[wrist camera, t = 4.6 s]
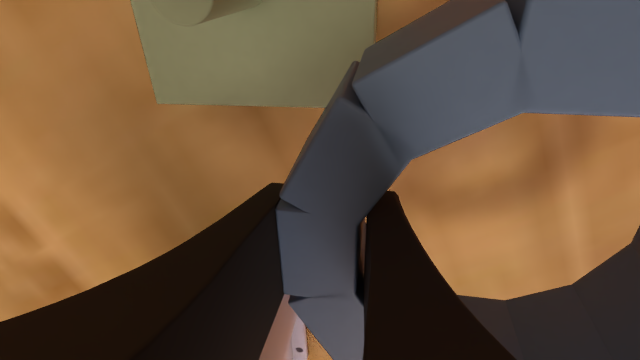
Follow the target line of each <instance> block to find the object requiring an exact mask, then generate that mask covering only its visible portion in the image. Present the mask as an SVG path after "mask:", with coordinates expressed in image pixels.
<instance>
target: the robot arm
mask: <svg viewBox="0 0 640 360" xmlns="http://www.w3.org/2000/svg"><path fill="white" fill-rule="evenodd" d="M283 185H284V184H282V183H271V184H269V185H267V186H266V187H264V188H263V189H262V190H260V191H259V192H257V193H256V194H255V195H253V196H252V197H251V198H249V199H248V200H247V201H245V202H244V203H242V204H241V205H240V206H238V207H237V208H235V209H234V210H233V211H231V212H230V213H228V214H227V215H226V216H224V217H223V218H221V219H220V220H219V221H217V222H215V223H214V224H212V225H211V226H209V227H208V228H206V229H205V230H203V231H201V232H200V233H198V234H197V235H195V236H194V237H192V238H191V239H189V240H187V241H186V242H184V243H182V244H181V245H179V246H177V247H176V248H174V249H172V250H170V251H168V252H167V253H165V254H163V255H161V256H159V257H157V258H155V259H153V260H152V261H150V262H148V263H146V264H144V265H142V266H140V267H138V268H136V269H134V270H131V271H129V272H127V273H125V274H122V275H120V276H118V277H116V278H114V279H111V280H109V281H107V282H105V283H102V284H100V285H98V286H96V287H94V288H91V289H89V290H87V291H84V292H82V293H79V294H77V295H74V296H71V297H69V298H66V299H64V300H61V301H59V302H56V303H53V304H51V305H48V306H45V307H42V308H40V309H37V310H34V311H31V312H29V313H26V314H23V315H20V316H17V317H14V318H11V319H8V320H5V321H2V322H0V360H307V358H308V348H307V336H306V325H305V324H304V323H303V322H302V320H301V319H300V318H299V317H298V315H297V314H296V313H295V312H294V310H293V309H292V308H291V307H290V305H289V304H288V300H289V297H290V295H286V294H284V292H283V283H282V273H281V263H280V252H279V242H278V232H277V222H276V212H275V209H276V207H277V205H278V203H279V201H280V199H281V198H280V197H279V194H280V191H281V189H282V187H283ZM363 360H517V359H516V358H515V357H514V356H513V355H512V354H511V353H510V352H509V351H508V350H507V349H506V348H505V347H504V346H503V345H502V344H501V343H500V342H499V341H498V340H497V339H496V338H495V337H494V336H493V335H492V334H491V333H490V332H489V331H488V330H487V329H486V328H485V327H484V326H483V325H482V324H481V323H480V321H479V320H478V319H477V318H476V317H475V316H474V315H473V313H472V312H471V311H470V310H469V309H468V308H467V307H466V306H465V304H464V303H463V302H462V301H461V299H460V298H459V297H458V296H457V295H456V293H455V292H454V291H453V290H452V288H451V287H450V286H449V284H448V283H447V282H446V280H445V279H444V278H443V276H442V275H441V274H440V272H439V271H438V269H437V268H436V266H435V265H434V263H433V262H432V261H431V259H430V258H429V256H428V254H427V253H426V251H425V250H424V248H423V247H422V245H421V243H420V241H419V240H418V238H417V236H416V234H415V233H414V231H413V229H412V227H411V225H410V223H409V221H408V219H407V217H406V215H405V213H404V211H403V208H402V206H401V203H400V200H399V197H398V195H397V194H396V193H395V192H394V191H386V192H385V193H384V195H383V196H382V197H381V198H380V200H379V201H378V202H377V203H376V205H375V206H374V207H373V208H372V210H371V211H370V212H369V213H368V215H367V223H366V244H365V265H364V350H363Z"/></svg>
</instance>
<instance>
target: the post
mask: <svg viewBox="0 0 640 360" xmlns="http://www.w3.org/2000/svg"><path fill="white" fill-rule="evenodd" d="M130 1H131V5H132V9H133V12H134V16H135V20H136V24H137V28H138V32H139V36H140V40H141V43H142V47H143V51H144V55H145V59H146V63H147V67H148V70H149V74H150V78H151V82H152V86H153V90H154V94H155V98H156V101H157V104H188V105H229V106H270V107H311V108H326V106H327V105H328V103H329V101H330V99H331V98H332V96H333V94H334V93H335V91H336V89H337V88H338V86H339V84H340V83H341V81H342V79H343V77H344V76H345V74H346V72H347V71H348V69H349V67H350V66H351V64H352V62H354V61H358V62H360V61H361V58H362V55H363V53H364V50H365V49H366V48H368V47H370V46H371V45H373V44H375V43H376V24H377V0H130Z"/></svg>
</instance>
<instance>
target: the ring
mask: <svg viewBox="0 0 640 360" xmlns="http://www.w3.org/2000/svg"><path fill="white" fill-rule="evenodd" d="M521 113H542V114H569V115H596V116H623V117H640V0H450V1H448V2H446V3H445V4H443V5H441V6H439V7H438V8H436V9H434V10H432V11H431V12H429V13H427V14H425V15H424V16H422V17H420V18H418V19H417V20H415V21H413V22H412V23H410V24H408V25H406V26H405V27H403V28H401V29H399V30H398V31H396V32H394V33H392V34H391V35H389V36H387V37H385V38H384V39H382V40H380V41H378V42H377V43H375V44H373V45H371V46H370V47H368V48H366V49H365V50H364V53H363V55H362V58H361V61H360V62H358V61H354V62H352V64H351V66H350V67H349V69H348V71H347V72H346V74H345V76H344V77H343V79H342V81H341V83H340V84H339V86H338V88H337V89H336V91H335V93H334V94H333V96H332V98H331V99H330V101H329V103H328V105H327V106H326V108H325V110H324V111H323V113H322V115H321V116H320V118H319V120H318V122H317V123H316V125H315V127H314V128H313V130H312V132H311V133H310V135H309V137H308V138H307V140H306V142H305V144H304V146H303V148H302V150H301V152H300V154H299V156H298V158H297V160H296V162H295V164H294V166H293V168H292V169H291V171H290V173H289V175H288V177H287V179H286V181H285V183H284V185H283V187H282V189H281V191H280V194H279V197H280V198H281V199H280V201H279V203H278V205H277V207H276V209H275V212H276V222H277V232H278V242H279V252H280V263H281V273H282V283H283V292H284V294H286V295H290V297H289V300H288V304H289V305H290V307H291V308H292V309H293V310H294V312H295V313H296V314H297V315H298V317H299V318H300V319H301V320H302V322H303V323H304V324H305V325H306V326H307V328H308V329H309V330H310V331H311V333H312V334H313V335H314V336H315V338H316V339H317V340H318V341H319V343H320V344H321V345H322V346H323V348H324V349H325V350H326V351H327V353H328V354H329V355H330V356H331V357H332V359H333V360H363V350H364V265H365V244H366V223H365V217H366V216H367V215H368V213H369V212H370V211H371V210H372V208H373V207H374V206H375V205H376V203H377V202H378V201H379V200H380V198H381V197H382V196H383V195H384V193H385V192H386V191H387V190H388V188H389V187H390V186H391V185H392V183H393V182H394V181H395V180H396V178H397V177H398V176H399V175H400V174H401V172H402V171H403V170H404V169H405V167H406V166H407V165H408V164H409V162H410V161H411V160H412V159H415V158H417V157H419V156H422V155H424V154H426V153H429V152H431V151H434V150H436V149H438V148H441V147H443V146H445V145H448V144H450V143H453V142H455V141H457V140H460V139H462V138H464V137H467V136H469V135H472V134H474V133H476V132H479V131H481V130H483V129H486V128H488V127H491V126H493V125H495V124H498V123H500V122H502V121H505V120H507V119H510V118H512V117H514V116H517V115H519V114H521ZM457 296H458V297H459V298H460V299H461V301H462V302H463V303H464V304H465V306H466V307H467V308H468V309H469V310H470V311H471V312H472V313H473V315H474V316H475V317H476V318H477V319H478V320H479V321H480V323H481V324H482V325H483V326H484V327H485V328H486V329H487V330H488V331H489V332H490V333H491V334H492V335H493V336H494V337H495V338H496V339H497V340H498V341H499V342H500V343H501V344H502V345H503V346H504V347H505V348H506V349H507V350H508V351H509V352H510V353H511V354H512V355H513V356H514V357H515V358H516V359H517V360H640V226H639V228H638V230H637V232H636V234H635V236H634V238H633V240H632V242H631V243H630V244H629V245H628V246H626V247H625V248H623V249H622V250H620V251H619V252H618V253H616V254H615V255H613V256H612V257H610V258H609V259H608V260H606V261H605V262H603V263H602V264H600V265H599V266H598V267H596V268H595V269H593V270H592V271H590V272H589V273H588V274H586V275H585V276H583V277H582V278H580V279H579V280H578V281H576V282H575V283H573V284H572V285H568V286H563V287H559V288H555V289H551V290H547V291H543V292H538V293H534V294H530V295H526V296H522V297H518V298H513V299H509V300H496V299H488V298H479V297H470V296H462V295H457Z"/></svg>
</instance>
